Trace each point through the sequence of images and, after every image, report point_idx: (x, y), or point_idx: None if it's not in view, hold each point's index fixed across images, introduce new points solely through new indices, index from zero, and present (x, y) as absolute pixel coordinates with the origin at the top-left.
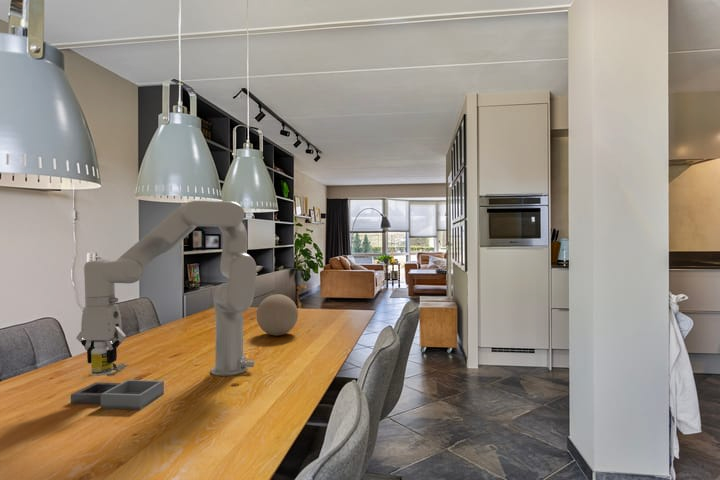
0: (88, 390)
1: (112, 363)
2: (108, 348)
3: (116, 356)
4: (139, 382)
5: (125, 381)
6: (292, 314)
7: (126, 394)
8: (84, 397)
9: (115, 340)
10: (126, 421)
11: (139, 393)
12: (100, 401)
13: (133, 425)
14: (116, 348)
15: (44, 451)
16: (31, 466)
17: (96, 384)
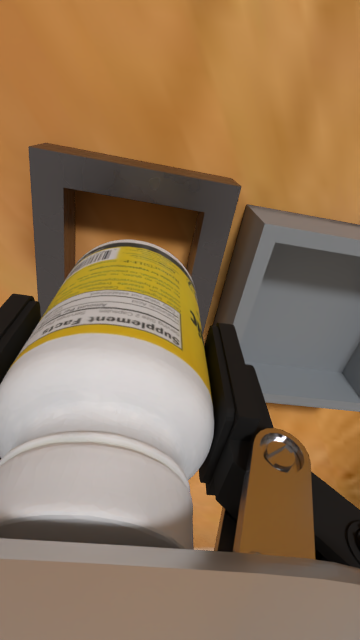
0: (67, 252)
1: (199, 315)
2: (195, 469)
3: (254, 375)
4: (338, 251)
5: (262, 253)
6: None
7: (314, 403)
8: None
9: (300, 556)
10: (315, 431)
11: (320, 258)
12: None
13: (338, 447)
14: (276, 439)
15: (193, 513)
16: (202, 538)
17: (63, 189)
